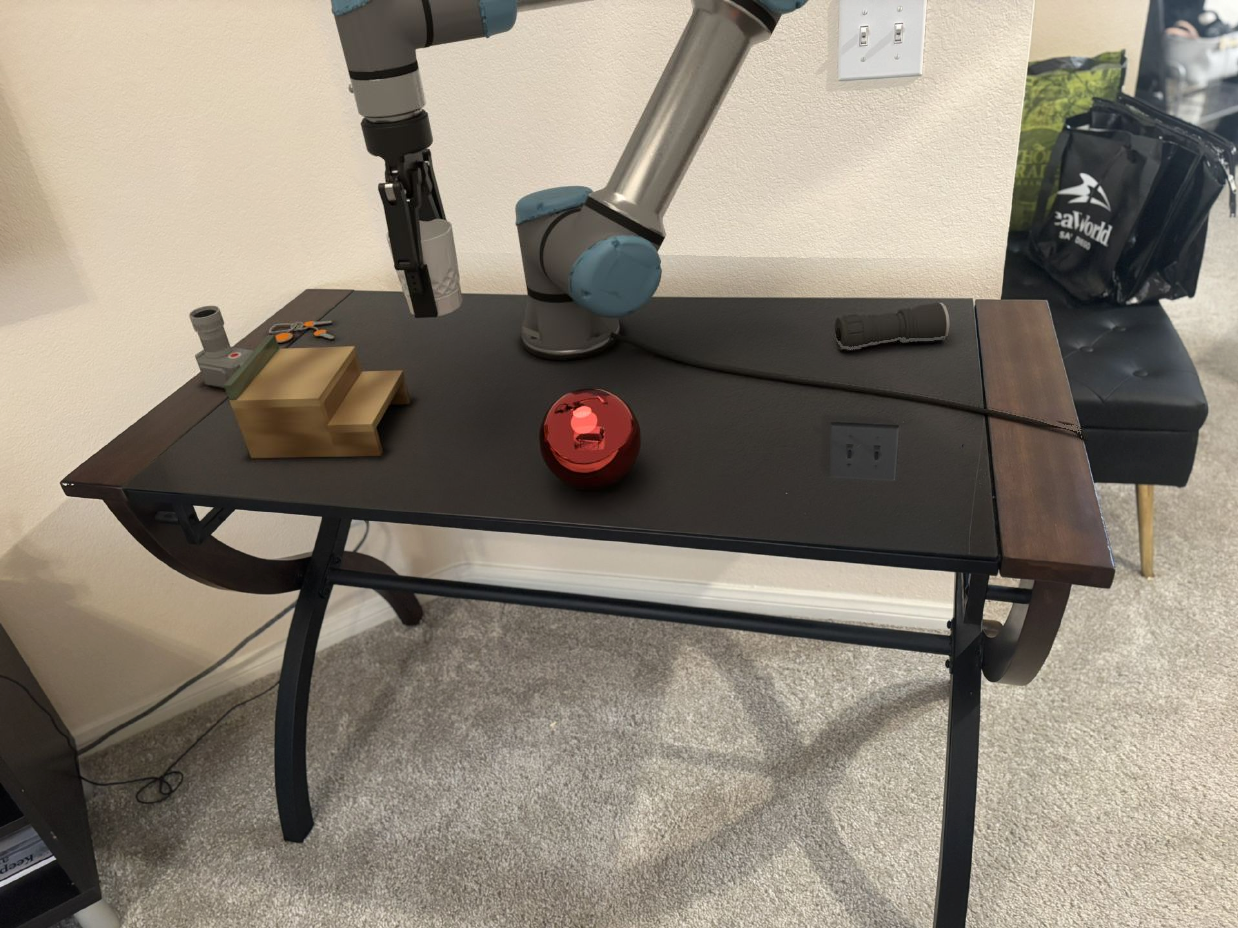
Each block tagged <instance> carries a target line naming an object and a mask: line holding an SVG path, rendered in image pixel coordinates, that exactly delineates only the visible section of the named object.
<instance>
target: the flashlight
mask: <svg viewBox="0 0 1238 928" xmlns="http://www.w3.org/2000/svg"><path fill="white" fill-rule="evenodd" d="M946 306H947V305H945V303H943V302H936V303H927V304H920V305H917V306H915V307H912V308H910V307H908V308H901V309H899V310H898V311H897V312H896V313H894V312H890V313H881V314H874V313H873V314H868V315H866V314H861V315H859V314H857V313H851V314H846V315H844V314H843V315H841V317H837V318H836V319H835V323H834V335H835V334H836V338H837V340H838V341H840V342H841V344H842V345H843V346H849V347H852V346H853V347H854V346H859V345H863V344H868V343H870V342H876V341H877V342H879V341H883V340H891V339H895V338H898V337H901V338H902V337H905V338H906V339H909V338H934V337H941V336H948V337H949V333H950V327H951V325H950V324H951V323H950V315H949V312H948V308H947V307H946ZM946 340H947V339H944V338H943V339H942V340H934V341H917V342H916V343H919V342H920V343H919V344H922V343H921V342H924V343H923V344H927V343H934V342H935V343H936V342H944V341H946ZM835 343H836V347H837V348H838V350H839V351H845V352H846V351H847V352H855V351H860V350H861V349H863V347H862V348H861V349H855V350H854V349H853V350H847V349H841V347H840V345H839V344H838V342H837V341H836V340H835ZM885 344H886V343H884V344H883V345H885ZM869 347H870V345H869V346H867V347H866V348H869Z"/></svg>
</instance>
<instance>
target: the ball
mask: <svg viewBox="0 0 1238 928" xmlns="http://www.w3.org/2000/svg"><path fill="white" fill-rule="evenodd" d="M538 433H539V434H538V441H539V450H540V454H541V457H542V459H543V462H544V463H545V465H546V467H547V468H548V469H549V471H550V472H551V474H553V475H554V477H555V478H557V479H558V480H559V481H561V482H562V483H564V484H566V485H568V486H570V487H572V488H576V489H581V490H586V491H587V490H589V491H591V490H600V489H601V490H602V489H604V488H608V487H610V486H612V485H614V484H616V483H617V482H619V481H621V480H622V479H623V478H624V477H626V476H627V474H628V473H629V472H630V471H631V470H632V468H634V465H635V463H636V461H637V458H638V457H639V454H640V450H641V445H642V438H641V437H642V435H641V427H640V422H639V421H638V418H637V416H636V415H635V413H634V410H633V409H632V407H630V405H629V404H628V403H627V402H626V401H625V400H624V399H622V398H621V397H620V396H618V395H617V394H615V393H613V392H611V391H609V390H606V389H602V388H598V387H582V388H578V389H574V390H571V391H568V392H567V393H564V394H563V395H561V396H560V397H559V398H557V399H556V400H555V401H554V402H553V403H552V404H551V405H550V407H549V408H548V409H547V410H546V412H545V414H544V416H543V419H542V421H541V424H540V427H539V432H538Z"/></svg>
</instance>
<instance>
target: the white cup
mask: <svg viewBox="0 0 1238 928" xmlns="http://www.w3.org/2000/svg"><path fill="white" fill-rule="evenodd" d="M446 220H447V219H446ZM446 220H443V219H434V220H432V221H428V222H425V221H420V220H419V223H420V233H421V245H422V254H423V262H424V264H427V267H428V271H429V276H430V280H431V284H432V289H433V293H434V298H435V302H436V307H437V311H438V316H437V317H442V316H445V315H449V314H451V313H453V312H455V311H456V310H458V309H459V308H460V307H461V306H462V305H463V302H464V301H463V295H462V289H461V284H460V280H461V277H460V276H461V275H460V270H459V262H458V255H457V249H456V243H455V237H454V230H453V224H452V223H451V222H450V221H448V220H447V221H446ZM385 238H386V241H387V244H388V247H389V251H390V254H391V257H392V262H394V260H393V255H392V250H391V244H390V239H389V234H388V231H387V232H386V235H385ZM395 272H396V275H397V278H398V281H399V283H400V287H401V290H402V293H403V294H404V297H405V301H406V304H407V307H408V310H409V312H410V314H411V315H412V316H415V315H414V311H413V307H412V303H411V298H410V294H409V290H408V286H407V282H406V278H405V273H404V270H398V271H397V270H395Z"/></svg>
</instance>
